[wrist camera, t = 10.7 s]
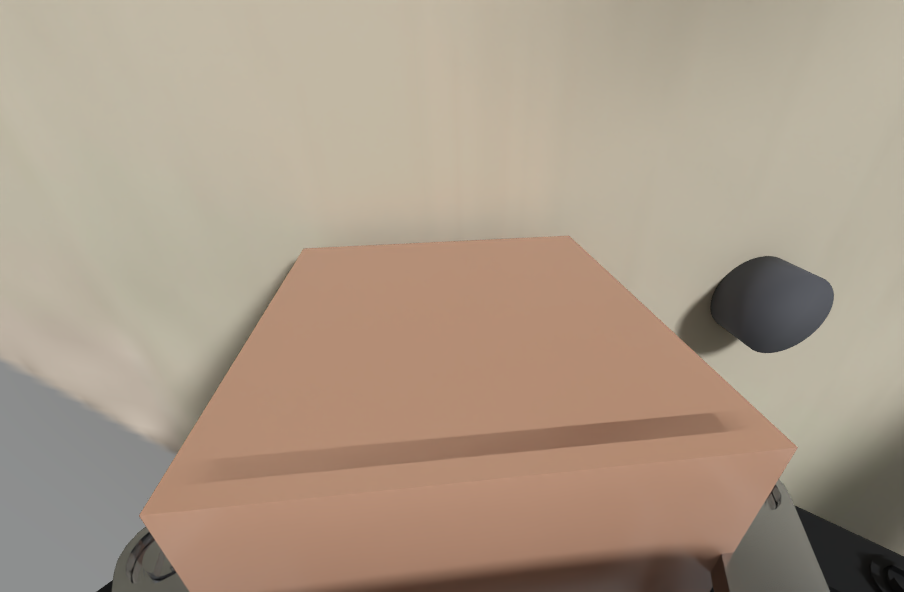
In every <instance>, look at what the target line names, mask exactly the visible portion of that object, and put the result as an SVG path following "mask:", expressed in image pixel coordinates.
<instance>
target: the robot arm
mask: <svg viewBox="0 0 904 592" xmlns="http://www.w3.org/2000/svg"><path fill="white" fill-rule="evenodd" d="M711 579H712V584H713V587H712V589H711V590H710V592H904V557H903V556H901V555H899V554H897V553H895V552H893V551H891V550H889V549H886V548H884V547H882V546H880V545H878V544H876V543H874V542H871V541H869V540H867V539H865V538H863V537H861V536H859V535H857V534H854V533H852V532H850V531H848V530H846V529H844V528H842V527H839V526H837V525H835V524H833V523H831V522H829V521H827V520H825V519H822V518H820V517H818V516H816V515H814V514H812V513H810V512H807V511H805V510H803V509H801V508H799V507H797V506H795V505H794V503H793V501H792V499H791V496H790V494H789V493H788V491H787V489H786V488H785V486H784V484H783V483H782V482H781V481H780V480H779V479H778V481H777V482H776V484H775V486H774V487H773V489H772V491H771V492H770V494H769V496H768V497H767V499H766V500H765V502H764V504H763V505H762V507H761V509H760V510H759V512H758V514H757V515H756V517H755V518H754V520H753V522H752V523H751V525H750V527H749V528H748V530H747V532H746V533H745V535H744V536H743V538H742V540H741V541H740V543H739V545H738V546H737V548H736V550H735V551H734V552H732V553H724V554H721V556H720V557H719V559H718V561H717V562H716V564H715V566H714V568H713V569H712V571H711ZM97 592H189V590H188V589H187V587H186V586H185V584H184V583H183V581H182V580H181V578H180V577H179V575H178V574H177V572H176V571H175V569H174V568H173V566H172V565H171V563H170V562H169V560H168V559H167V557H166V556H165V554H164V553H163V551H162V550H161V548H160V547H159V545H158V544H157V542H156V541H155V539H154V538H153V536H152V535H151V533H150V532H149V530H148V529H147V527H145V528H143V529H142V530H141V531H140V532H138V533H137V535H136V536H135V537H134V538H133V539H132V540H131V541H130V542H129V543H128V545H127V546H126V547H125V549H124V551H123V552H122V554H121V556H120V557H119V559H118V561H117V564H116V568H115V571H114V576H113V580H112V581H111V582H109V583H108V584H107V585H105V586H104V587H103V588H101V589H100V590H98V591H97Z"/></svg>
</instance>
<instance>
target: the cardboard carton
mask: <svg viewBox="0 0 904 592" xmlns="http://www.w3.org/2000/svg"><path fill="white" fill-rule="evenodd" d="M797 448H798V447H797V446H796V445H795V444H794V443H792V442H791V441H790V440H789V439H788V438H787V437H786V436H785V435H784V434H783V433H782V432H781V431H779V430H778V429H777V428H776V427H775V426H774V425H773V424H772V423H771V422H770V421H769V420H768V419H766V418H765V417H764V416H763V415H762V414H761V413H760V412H759V411H758V410H757V409H756V408H755V407H754V406H752V405H751V404H750V403H749V402H748V401H747V400H746V399H745V398H744V397H743V396H742V395H741V394H739V393H738V392H737V391H736V390H735V389H734V388H733V387H732V386H731V385H730V384H729V383H728V382H727V381H725V380H724V379H723V378H722V377H721V376H720V375H719V374H718V373H717V372H716V371H715V370H714V369H712V368H711V367H710V366H709V365H708V364H707V363H706V362H705V361H704V360H703V359H702V358H701V357H700V356H698V355H697V354H696V353H695V352H694V351H693V350H692V349H691V348H690V347H689V346H688V345H687V344H685V343H684V342H683V341H682V340H681V339H680V338H679V337H678V336H677V335H676V334H675V333H674V332H673V331H671V330H670V329H669V328H668V327H667V326H666V325H665V324H664V323H663V322H662V321H661V320H660V319H658V318H657V317H656V316H655V315H654V314H653V313H652V312H651V311H650V310H649V309H648V308H647V307H645V306H644V305H643V304H642V303H641V302H640V301H639V300H638V299H637V298H636V297H635V296H634V295H633V294H631V293H630V292H629V291H628V290H627V289H626V288H625V287H624V286H623V285H622V284H621V283H620V282H618V281H617V280H616V279H615V278H614V277H613V276H612V275H611V274H610V273H609V272H608V271H607V270H606V269H604V268H603V267H602V266H601V265H600V264H599V263H598V262H597V261H596V260H595V259H594V258H593V257H591V256H590V255H589V254H588V253H587V252H586V251H585V250H584V249H583V248H582V247H581V246H580V245H579V244H577V243H576V242H575V241H574V240H573V239H572V238H571V237H570V236H554V237H533V238H513V239H492V240H471V241H451V242H430V243H410V244H389V245H368V246H348V247H327V248H306V249H303V250H302V252H301V254H300V255H299V257H298V258H297V260H296V262H295V263H294V265H293V267H292V268H291V270H290V271H289V273H288V275H287V276H286V278H285V280H284V281H283V283H282V284H281V286H280V288H279V289H278V291H277V293H276V294H275V296H274V297H273V299H272V301H271V302H270V304H269V306H268V307H267V309H266V310H265V312H264V314H263V315H262V317H261V319H260V320H259V322H258V323H257V325H256V327H255V328H254V330H253V331H252V333H251V335H250V336H249V338H248V340H247V341H246V343H245V344H244V346H243V348H242V349H241V351H240V353H239V354H238V356H237V357H236V359H235V361H234V362H233V364H232V366H231V367H230V369H229V370H228V372H227V374H226V375H225V377H224V379H223V380H222V382H221V383H220V385H219V387H218V388H217V390H216V391H215V393H214V395H213V396H212V398H211V400H210V401H209V403H208V404H207V406H206V408H205V409H204V411H203V413H202V414H201V416H200V417H199V419H198V421H197V422H196V424H195V426H194V427H193V429H192V430H191V432H190V434H189V435H188V437H187V439H186V440H185V442H184V443H183V445H182V447H181V448H180V450H179V452H178V453H177V455H176V456H175V458H174V460H173V461H172V463H171V465H170V466H169V468H168V469H167V471H166V473H165V474H164V476H163V477H162V479H161V481H160V482H159V484H158V486H157V487H156V489H155V490H154V492H153V494H152V496H151V497H150V499H149V500H148V502H147V503H146V505H145V507H144V509H143V510H142V512H141V513H140V515H139V517H140V518H141V519H142V521H143V523H144V524H145V526H146V527H147V529H148V530H149V532H150V533H151V535H152V536H153V538H154V539H155V541H156V542H157V544H158V545H159V547H160V548H161V550H162V551H163V553H164V554H165V556H166V557H167V559H168V560H169V562H170V563H171V565H172V566H173V568H174V569H175V571H176V572H177V574H178V575H179V577H180V578H181V580H182V581H183V583H184V584H185V586H186V587H187V589H188V590H189V592H710V590H711V589H712V587H713V584H712V579H711V571H712V569H713V568H714V566H715V564H716V562H717V561H718V559H719V557H720V556H721V554H724V553H732V552H734V551H735V550H736V548H737V546H738V545H739V543H740V541H741V540H742V538H743V536H744V535H745V533H746V532H747V530H748V528H749V527H750V525H751V523H752V522H753V520H754V518H755V517H756V515H757V514H758V512H759V510H760V509H761V507H762V505H763V504H764V502H765V500H766V499H767V497H768V496H769V494H770V492H771V491H772V489H773V487H774V486H775V484H776V482H777V481H778V479H779V478H780V476H781V474H782V473H783V471H784V469H785V468H786V466H787V464H788V463H789V461H790V460H791V458H792V456H793V455H794V453H795V451H796V450H797Z"/></svg>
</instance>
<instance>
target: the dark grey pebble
mask: <svg viewBox="0 0 904 592" xmlns="http://www.w3.org/2000/svg"><path fill="white" fill-rule="evenodd" d="M833 300H834V293H833V289H832V286H831V285H830V283H829V282H828V281H826V280H825V279H823V278H821V277H819V276H817V275H814V274H812V273H810V272H808V271H806V270H804V269H802V268H799V267H797V266H795V265H793V264H791V263H789V262H786V261H784V260H782V259H780V258H777V257H772V256H764V257H758V258H754V259H751V260H749V261H747V262H744V263H743V264H741V265H739V266H738V267H736V268H735V269H733V270H732V271H731V272H730V273H729V274H728V275H727V276H726V277H725V278H724V279H723V280H722V281H721V282H720V284H719V285H718V287H717V288H716V290H715V292H714V294H713V297H712V300H711V314H712V317H713V319H714V320H715V321H716V322H717V323H718V324H719V325H721V326H722V327H723V328H725V329H726V330H727V331H728V332H730V333H731V334H732V335H734V336H735V337H736V338H738V339H739V340H740V341H742V342H743V343H744V344H746V345H747V346H748V347H750V348H751V349H752V350H754V351H757V352H761V353H773V352H779V351H782V350H785V349H788V348H790V347H793V346H795V345H797V344H798V343H800V342H802V341H803V340H805V339H806V338H807V337H809V336H810V335H811V334H812V333H814V332H815V331H816V330H817V329H818V328H819V326H820V325H821V324H822V323H823V322H824V320H825V319H826V317H827V316H828V314H829V312H830V310H831V307H832V304H833Z"/></svg>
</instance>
